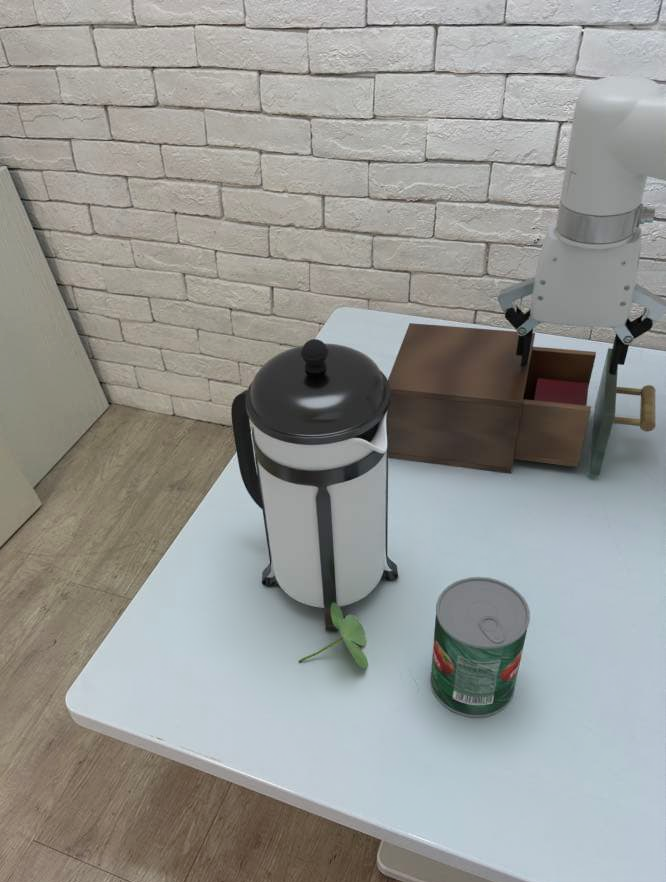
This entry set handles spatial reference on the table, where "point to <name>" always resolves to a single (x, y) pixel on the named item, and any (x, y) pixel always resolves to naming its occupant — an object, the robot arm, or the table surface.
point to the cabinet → (457, 397)
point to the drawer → (573, 410)
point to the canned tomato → (478, 645)
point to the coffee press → (319, 471)
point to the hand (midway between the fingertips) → (567, 364)
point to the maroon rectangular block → (561, 391)
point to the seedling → (347, 635)
